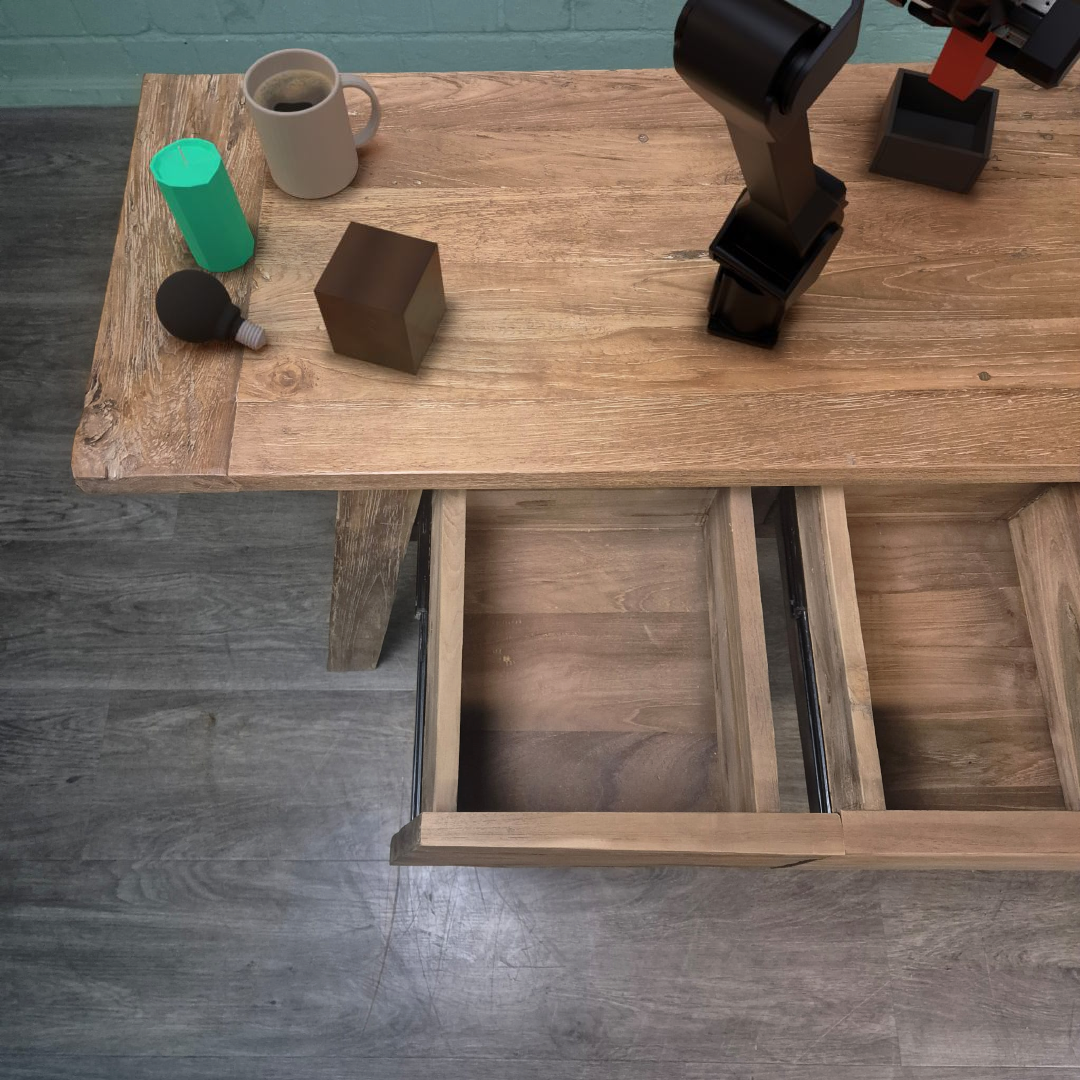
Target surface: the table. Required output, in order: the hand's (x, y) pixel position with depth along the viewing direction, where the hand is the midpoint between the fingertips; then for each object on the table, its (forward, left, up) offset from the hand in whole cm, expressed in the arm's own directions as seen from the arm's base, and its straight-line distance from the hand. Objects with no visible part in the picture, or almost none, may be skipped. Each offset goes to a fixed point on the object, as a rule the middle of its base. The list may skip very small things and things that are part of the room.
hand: (986, 32), depth 81 cm
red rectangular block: (+1, +1, -4) cm, 4 cm away
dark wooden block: (+45, +40, -12) cm, 61 cm away
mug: (+59, +23, -12) cm, 64 cm away
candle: (+64, +36, -12) cm, 74 cm away
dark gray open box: (+1, +1, -12) cm, 12 cm away
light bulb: (+60, +45, -12) cm, 76 cm away
